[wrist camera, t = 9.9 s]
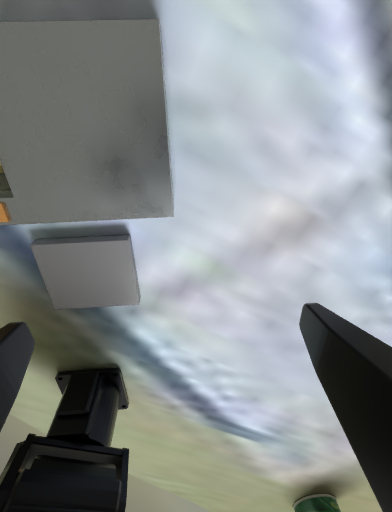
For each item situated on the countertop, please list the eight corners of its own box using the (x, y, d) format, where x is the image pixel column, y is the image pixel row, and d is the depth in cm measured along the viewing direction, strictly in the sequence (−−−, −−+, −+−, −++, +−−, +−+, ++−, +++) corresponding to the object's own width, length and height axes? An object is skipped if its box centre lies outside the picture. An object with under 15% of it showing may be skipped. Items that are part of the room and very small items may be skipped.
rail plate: (173, 207, 19) (173, 217, 17) (-67, 218, 18) (-96, 231, 16) (161, 30, 14) (158, 17, 12) (-167, 37, 13) (-225, 24, 11)
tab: (140, 296, 23) (138, 304, 22) (59, 302, 22) (54, 309, 22) (130, 234, 20) (127, 240, 19) (36, 239, 19) (30, 245, 19)
